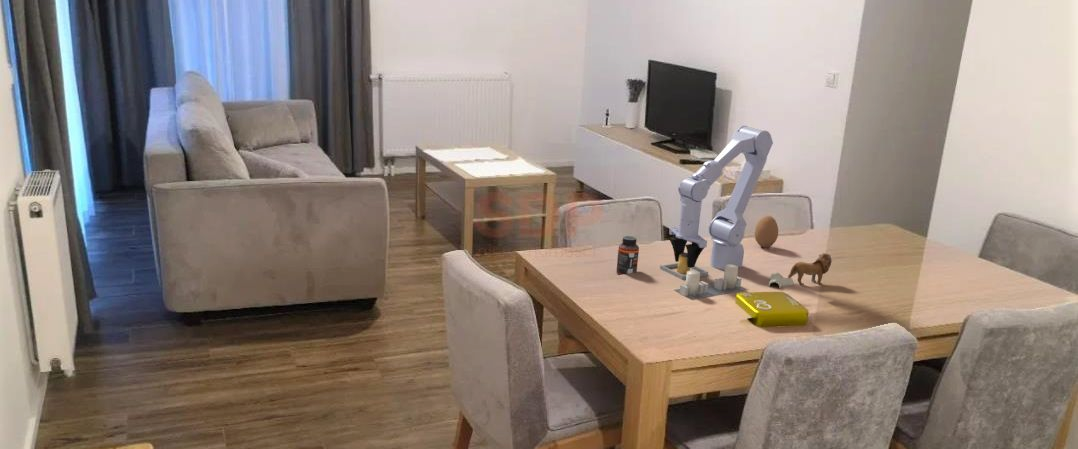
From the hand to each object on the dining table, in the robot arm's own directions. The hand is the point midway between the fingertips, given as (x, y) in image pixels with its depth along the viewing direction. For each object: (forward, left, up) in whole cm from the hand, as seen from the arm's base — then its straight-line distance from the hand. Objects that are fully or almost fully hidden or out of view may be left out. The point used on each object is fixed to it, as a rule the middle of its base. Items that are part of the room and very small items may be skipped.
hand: (684, 264), depth 252 cm
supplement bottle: (+15, -8, -4) cm, 17 cm away
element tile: (-2, +33, -5) cm, 33 cm away
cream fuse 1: (+10, +15, -2) cm, 18 cm away
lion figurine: (-32, +18, -4) cm, 37 cm away
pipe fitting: (-20, +19, -4) cm, 28 cm away
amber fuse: (0, 0, -3) cm, 3 cm away
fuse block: (+3, +15, -4) cm, 16 cm away
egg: (-46, -13, -4) cm, 48 cm away
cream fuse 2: (-4, +15, -2) cm, 16 cm away
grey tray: (0, 0, -4) cm, 4 cm away
